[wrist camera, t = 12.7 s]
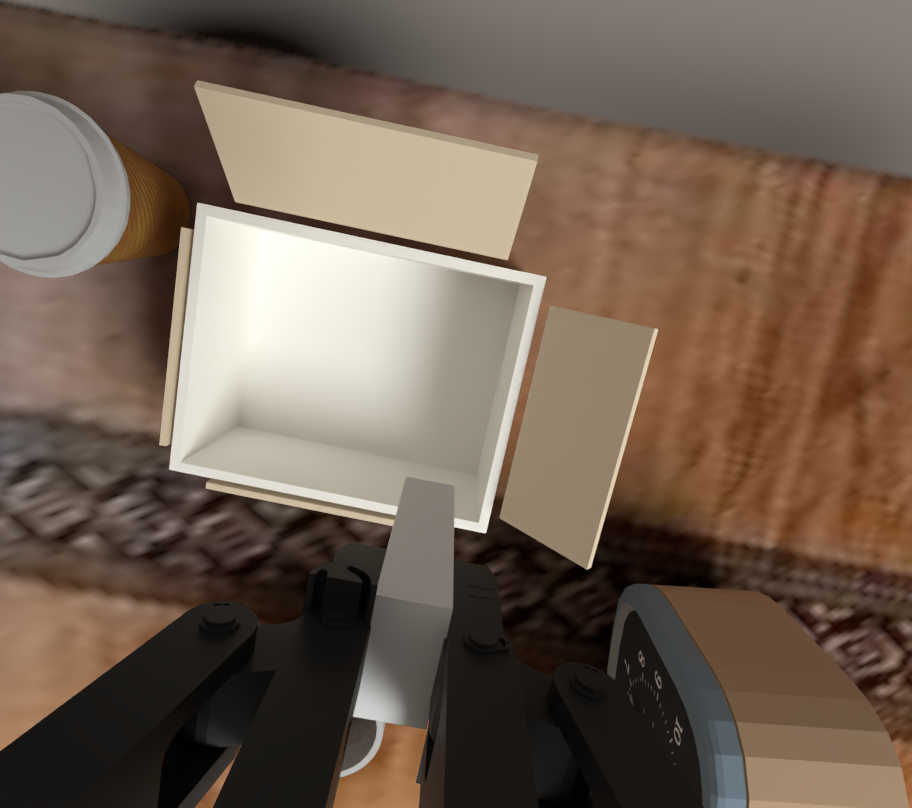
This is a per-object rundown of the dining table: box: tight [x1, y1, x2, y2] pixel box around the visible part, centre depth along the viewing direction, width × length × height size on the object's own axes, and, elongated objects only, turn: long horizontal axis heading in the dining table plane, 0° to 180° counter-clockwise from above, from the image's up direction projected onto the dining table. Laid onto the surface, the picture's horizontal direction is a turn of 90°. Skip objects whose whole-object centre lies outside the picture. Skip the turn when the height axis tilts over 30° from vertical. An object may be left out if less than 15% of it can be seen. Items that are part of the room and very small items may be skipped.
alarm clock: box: [607, 583, 909, 808], centre depth 38 cm, size 21×10×22 cm, turn 176°
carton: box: [159, 202, 546, 533], centre depth 38 cm, size 21×17×10 cm
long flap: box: [194, 80, 538, 260], centre depth 28 cm, size 15×7×1 cm
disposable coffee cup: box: [0, 91, 191, 278], centre depth 35 cm, size 10×10×12 cm
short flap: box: [499, 306, 658, 569], centre depth 31 cm, size 6×13×1 cm
